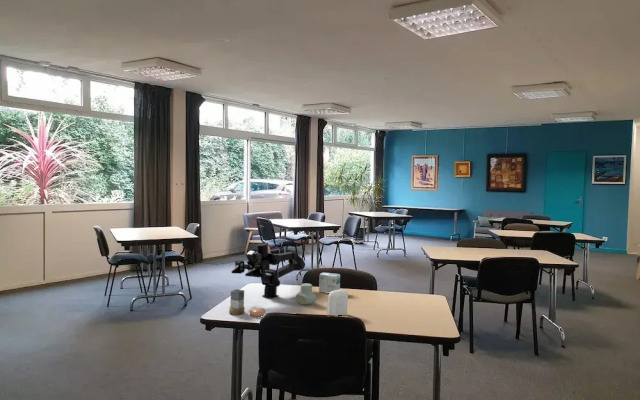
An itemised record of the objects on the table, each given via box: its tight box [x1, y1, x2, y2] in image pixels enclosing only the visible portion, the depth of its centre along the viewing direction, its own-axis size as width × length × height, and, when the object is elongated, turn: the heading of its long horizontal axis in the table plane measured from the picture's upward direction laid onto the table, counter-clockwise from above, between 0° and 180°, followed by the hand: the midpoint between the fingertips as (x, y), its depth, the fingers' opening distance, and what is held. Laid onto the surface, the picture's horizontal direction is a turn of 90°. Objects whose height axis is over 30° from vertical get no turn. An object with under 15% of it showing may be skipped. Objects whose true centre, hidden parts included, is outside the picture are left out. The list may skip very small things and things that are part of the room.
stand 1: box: [228, 306, 246, 316], centre depth 205 cm, size 7×7×2 cm
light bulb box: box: [318, 272, 341, 292], centre depth 249 cm, size 11×7×11 cm, turn 69°
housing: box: [229, 288, 245, 310], centre depth 205 cm, size 4×4×8 cm
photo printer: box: [326, 288, 349, 316], centre depth 208 cm, size 10×4×12 cm, turn 123°
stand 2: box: [249, 307, 266, 319], centre depth 203 cm, size 7×7×2 cm
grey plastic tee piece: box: [295, 283, 317, 306], centre depth 225 cm, size 11×8×10 cm
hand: (238, 273), depth 214 cm, fingers open, 9 cm apart
